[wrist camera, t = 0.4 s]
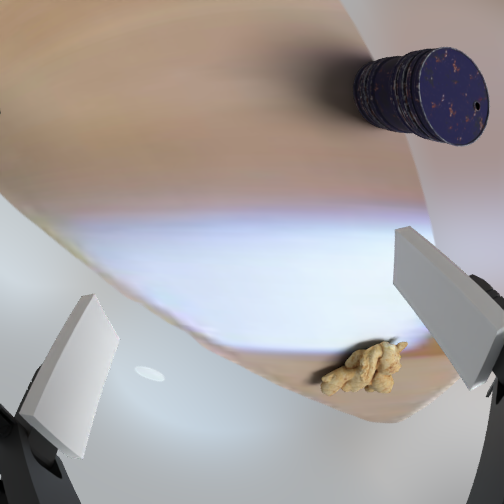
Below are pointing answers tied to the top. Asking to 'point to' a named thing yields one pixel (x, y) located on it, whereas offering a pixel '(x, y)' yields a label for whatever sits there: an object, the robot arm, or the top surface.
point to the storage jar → (425, 95)
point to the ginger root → (366, 370)
